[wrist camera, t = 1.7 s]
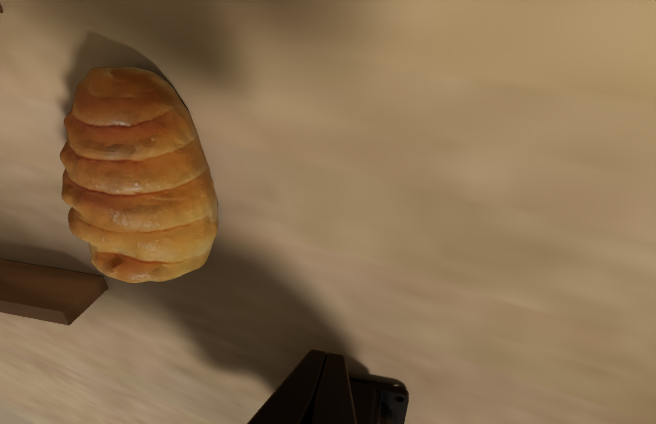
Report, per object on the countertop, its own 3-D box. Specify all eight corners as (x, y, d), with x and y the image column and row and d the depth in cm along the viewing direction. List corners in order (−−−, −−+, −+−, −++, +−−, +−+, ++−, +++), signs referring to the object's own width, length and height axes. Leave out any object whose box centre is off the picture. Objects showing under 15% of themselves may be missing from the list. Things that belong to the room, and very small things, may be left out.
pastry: (69, 52, 16) (-19, 68, 13) (218, 73, 15) (164, 95, 12) (115, 232, 21) (60, 277, 18) (229, 256, 20) (194, 307, 17)
